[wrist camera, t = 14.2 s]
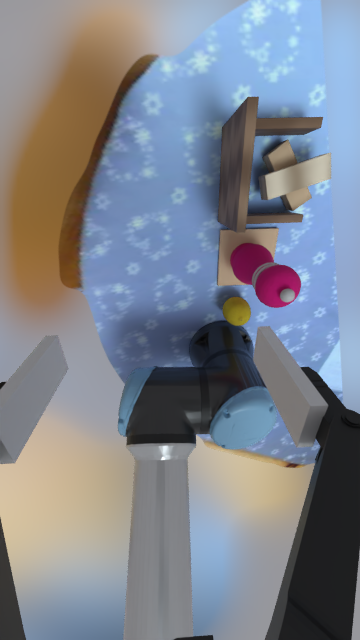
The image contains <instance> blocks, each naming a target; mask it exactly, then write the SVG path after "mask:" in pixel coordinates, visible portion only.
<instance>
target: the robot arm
mask: <svg viewBox="0 0 360 640" xmlns="http://www.w3.org/2000/svg"><path fill="white" fill-rule="evenodd" d="M190 358H191V361H192V364H193V366H194V367H157V366H154V367H150V368H138V369H135V370H134V371H132V372H131V374H130V375H129V377H128V379H127V381H126V384H125V386H124V390H123V393H122V397H121V402H120V408H119V421H118V431H119V433H120V435H123V436H124V437H127V445H126V448H127V449H128V450H129V451H130V453H131V454H132V455H133V456H134V459H135V466H134V482H133V497H132V514H131V529H130V545H129V560H128V576H127V592H126V608H125V623H124V640H213V635H208V636H194V637H193V621H192V620H193V618H192V588H191V587H192V586H191V555H190V554H191V553H190V522H189V521H190V520H189V487H188V457H189V455H190V453H191V452H192V451H193V450H194V448H195V447H196V434H210V435H211V438H212V439H213V441H214V442H215V443H216V444H217V445H218V446H222V448H225V449H241V448H245V447H248V446H251V445H253V444H255V443H257V442H259V441H260V440H261V439H263V438H264V437H266V436H267V435H268V434H269V433H270V431H271V430H272V429H273V427H274V425H275V423H276V419H277V411H276V407H277V409H278V411H279V413H280V415H281V417H282V419H283V421H284V423H285V425H286V427H287V429H288V431H289V433H290V435H291V437H292V439H293V441H294V443H295V445H296V447H313V444H314V442H315V439H317V441H318V443H319V444H320V446H321V447H320V449H319V451H318V454H317V456H316V459H315V461H316V463H315V466H314V470H313V474H312V477H311V481H310V484H309V488H308V491H307V495H306V499H305V502H304V506H303V509H302V513H301V517H300V520H299V524H298V527H297V531H296V534H295V538H294V542H293V545H292V549H291V552H290V556H289V559H288V563H287V566H286V570H285V574H284V577H283V581H282V585H281V588H280V591H279V595H278V599H277V603H276V606H275V609H274V613H273V616H272V620H271V623H270V626H269V629H268V632H267V635H266V638H265V640H351V637H352V626H353V614H354V604H355V593H356V583H357V582H356V581H357V572H358V561H359V550H360V414H358V413H357V412H355V411H352V410H349V409H346V407H345V406H344V405H343V404H342V403H341V401H340V400H339V399H338V398H337V396H336V395H335V394H334V393H333V392H332V390H331V389H330V388H329V387H328V385H327V384H326V383H325V382H324V381H323V379H322V378H321V377H320V376H319V374H318V373H317V372H315V371H314V370H312V369H311V368H309V367H299V365H298V364H297V363H296V361H295V360H294V358H293V357H292V356H291V354H290V353H289V352H288V350H287V349H286V348H285V346H284V345H283V344H282V342H281V341H280V340H279V338H278V337H277V336H276V334H275V333H274V332H273V330H272V329H271V328H270V326H265V327H258V331H257V337H256V344H255V350H254V357H253V343H252V340H251V338H250V336H249V334H248V333H247V331H246V330H245V329H244V328H243V327H241V326H235V325H232V324H230V323H229V322H227V321H221V322H214V323H211V324H209V325H206V326H205V327H203V328H201V329H200V330H199V331H198V332H197V333H196V334H195V335H194V337H193V338H192V340H191V343H190ZM67 370H68V366H67V363H66V360H65V357H64V354H63V350H62V347H61V344H60V341H59V338H58V336H57V335H56V336H45V337H44V339H43V340H42V341H41V342H40V343H39V345H38V346H37V347H36V348H35V349H34V350H33V352H32V353H31V354H30V355H29V356H28V358H27V359H26V360H25V361H24V362H23V363H22V365H21V366H20V367H19V368H18V369H17V370H16V372H15V373H14V374H13V375H12V376H11V378H10V379H9V380H8V381H7V382H1V383H0V464H7V463H15V462H16V460H17V458H18V457H19V455H20V453H21V451H22V449H23V448H24V446H25V444H26V442H27V441H28V439H29V437H30V435H31V434H32V432H33V430H34V428H35V426H36V425H37V423H38V421H39V419H40V418H41V416H42V414H43V412H44V411H45V409H46V407H47V405H48V404H49V402H50V400H51V398H52V396H53V395H54V393H55V391H56V389H57V387H58V386H59V384H60V382H61V381H62V379H63V377H64V375H65V374H66V372H67ZM273 401H274V402H273ZM274 403H275V405H276V407H275V405H274ZM0 640H26V638H25V634H24V630H23V625H22V620H21V615H20V611H19V605H18V601H17V596H16V591H15V586H14V581H13V577H12V572H11V567H10V562H9V557H8V553H7V548H6V543H5V538H4V533H3V529H2V524H1V519H0Z"/></svg>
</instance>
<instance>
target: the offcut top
mask: <svg viewBox="0 0 360 640" xmlns="http://www.w3.org/2000/svg"><path fill="white" fill-rule="evenodd" d="M328 179H331V153H327V154H323V155H319V156H316V157H314V158H311V159H308V160H305V161H302V162H299V163H297V164H294V165H291V166H288V167H285V168H282V169H280V170H277V171H274V172H271V173H268V174H265V175H263V176H260V177H259V185H260V192H261V200H270V199H273V198H275V197H278V196H281V195H284V194H287V193H290V192H293V191H296V190H299V189H302V188H305V187H308V186H311V185H314V184H316V183H319V182H322V181H325V180H328Z"/></svg>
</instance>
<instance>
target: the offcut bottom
mask: <svg viewBox="0 0 360 640" xmlns="http://www.w3.org/2000/svg"><path fill="white" fill-rule="evenodd" d="M262 158H263V160H264V162H265V164H266V167H267V169H268V171H269V173H271V172H274V171H277V170H280V169H282V168H285V167H288V166H291V165H294V164H297V160H296V158H295V155H294V153H293V150H292V148H291V145H290V143H289V140H286V141H284V142H282V143H280V144H279V145H278V146H276V147H275V148H274V149H273V150H271V151H270V152H269V153H268V154H266V155H265V156H264V157H262ZM280 197H281V199H282V201H283V203H284V205H285V208H286V210H291V211H294V210H295V209H296V208H298V207H299V206H301V205H302V204H303V203H305V202H306V201H308V200H309V199H311V198H312V197H311V195H310V192H309V190H308V187H305V188H302V189H299V190H296V191H293V192H290V193H287V194H284V195H281V196H280Z"/></svg>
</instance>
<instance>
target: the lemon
mask: <svg viewBox="0 0 360 640" xmlns="http://www.w3.org/2000/svg"><path fill="white" fill-rule="evenodd" d="M223 315H224V317H225V319H226V320H227V321H228V322H229V323H230V324H232V325H235V326H240V325H243V324H245V323H246V322H247V321H248V320H249V318H250V315H251V310H250V306H249V304H248V303H247V302H246V301H245V300H244V299H243V298H240V297H232V298H229V299H228V300H227V301H226V302H225V303H224V305H223Z"/></svg>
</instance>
